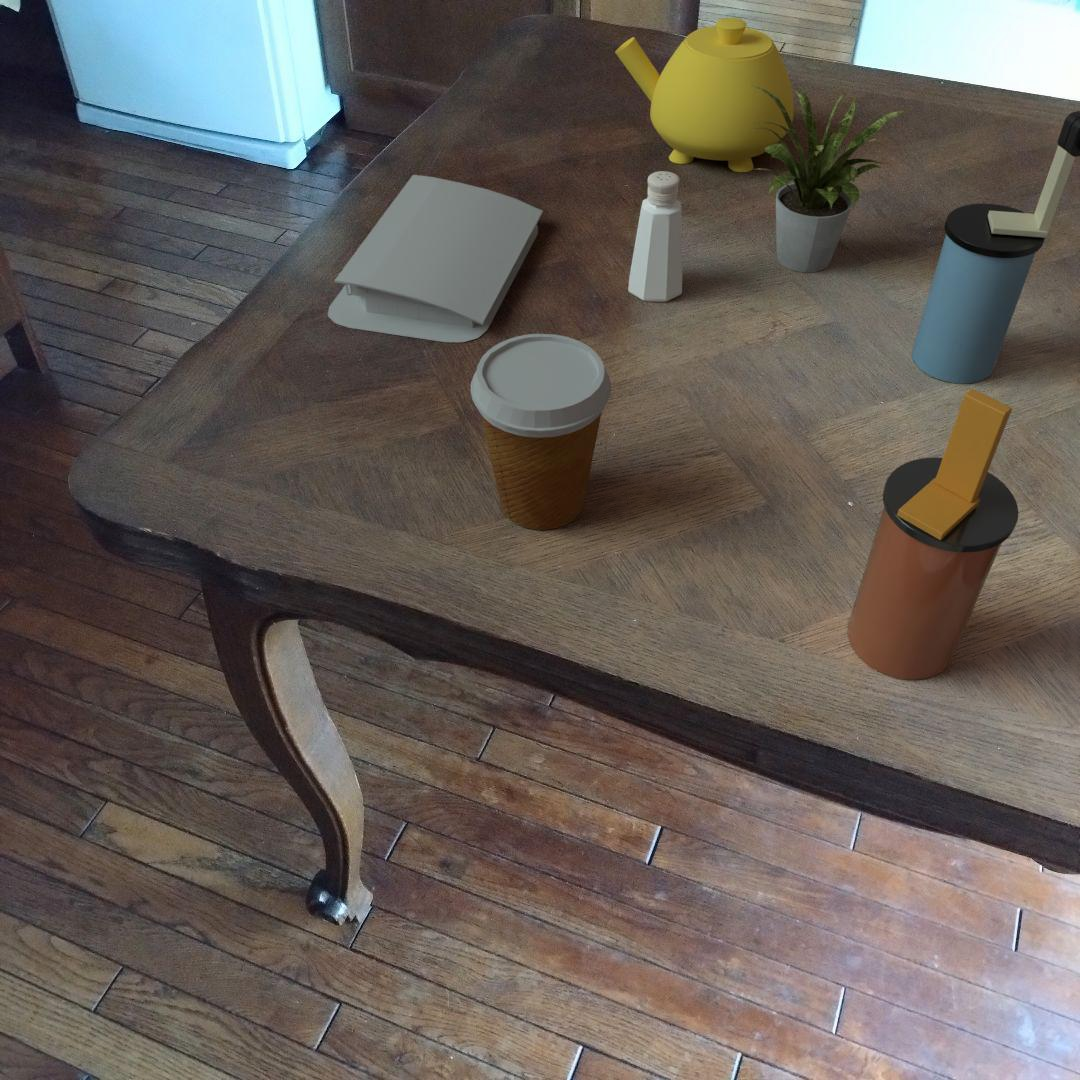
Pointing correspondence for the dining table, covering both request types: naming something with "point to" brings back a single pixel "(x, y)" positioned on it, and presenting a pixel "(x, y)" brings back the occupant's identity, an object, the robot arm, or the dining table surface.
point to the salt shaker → (658, 242)
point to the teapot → (716, 93)
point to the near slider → (960, 467)
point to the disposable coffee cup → (541, 424)
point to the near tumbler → (925, 577)
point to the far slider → (1046, 206)
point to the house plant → (816, 188)
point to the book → (436, 262)
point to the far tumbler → (972, 296)
